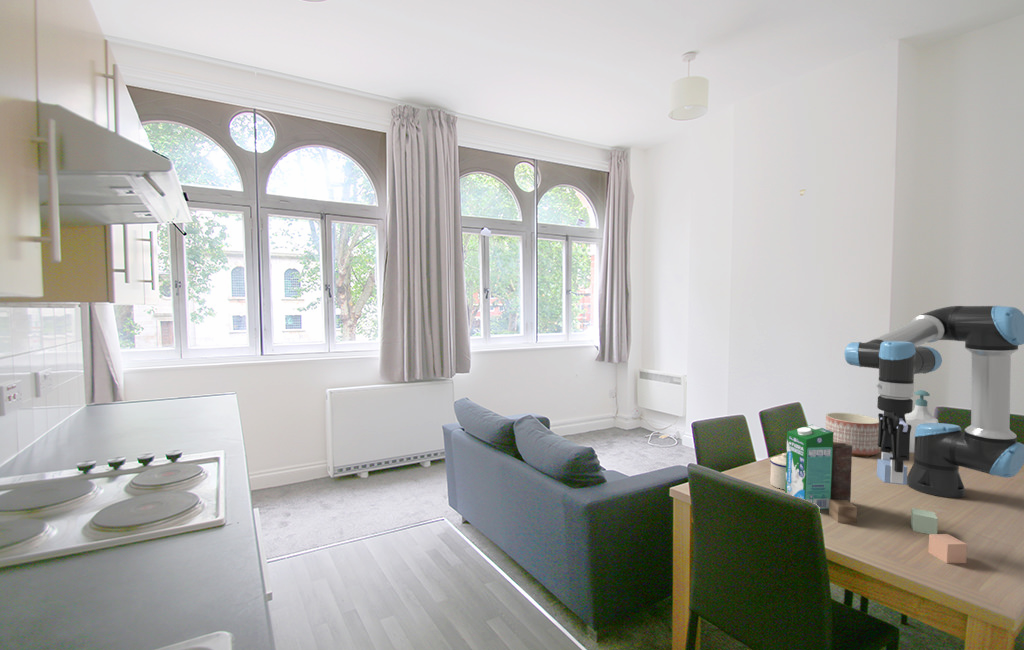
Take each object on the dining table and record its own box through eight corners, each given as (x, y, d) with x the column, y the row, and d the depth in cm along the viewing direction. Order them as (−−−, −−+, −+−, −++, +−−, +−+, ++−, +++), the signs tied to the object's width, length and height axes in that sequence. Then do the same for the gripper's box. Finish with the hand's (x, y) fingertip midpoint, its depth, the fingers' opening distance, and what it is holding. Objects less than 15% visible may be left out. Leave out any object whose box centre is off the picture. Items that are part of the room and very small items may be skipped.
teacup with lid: (794, 493, 158) (795, 460, 157) (765, 485, 165) (766, 453, 164) (805, 484, 166) (806, 452, 165) (777, 477, 173) (778, 446, 172)
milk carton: (784, 497, 154) (787, 424, 153) (810, 497, 155) (812, 423, 154) (804, 510, 145) (806, 432, 144) (830, 509, 146) (833, 431, 145)
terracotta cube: (946, 552, 121) (947, 534, 121) (966, 563, 116) (967, 544, 116) (928, 552, 121) (929, 534, 121) (946, 563, 116) (947, 544, 116)
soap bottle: (937, 452, 201) (940, 390, 199) (934, 457, 195) (937, 393, 194) (905, 446, 209) (907, 387, 208) (901, 450, 204) (904, 389, 202)
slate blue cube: (897, 478, 131) (898, 460, 130) (906, 484, 126) (907, 467, 126) (876, 476, 132) (877, 459, 132) (884, 482, 127) (885, 465, 127)
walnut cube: (846, 516, 141) (847, 500, 141) (856, 524, 136) (856, 507, 136) (828, 515, 142) (829, 499, 142) (837, 522, 137) (838, 506, 137)
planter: (838, 456, 196) (840, 422, 195) (816, 443, 215) (818, 411, 214) (889, 459, 193) (890, 424, 192) (862, 445, 211) (863, 413, 211)
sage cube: (933, 528, 134) (934, 512, 133) (937, 536, 129) (937, 518, 129) (910, 524, 136) (911, 507, 136) (913, 531, 132) (914, 514, 132)
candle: (842, 510, 145) (844, 448, 144) (817, 501, 151) (819, 441, 150) (855, 505, 148) (857, 444, 147) (830, 496, 155) (833, 438, 154)
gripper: (865, 389, 137) (862, 466, 139) (893, 402, 120) (890, 489, 122) (896, 391, 135) (892, 469, 136) (929, 404, 118) (925, 493, 119)
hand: (891, 478), depth 129 cm, fingers closed on slate blue cube, 5 cm apart
